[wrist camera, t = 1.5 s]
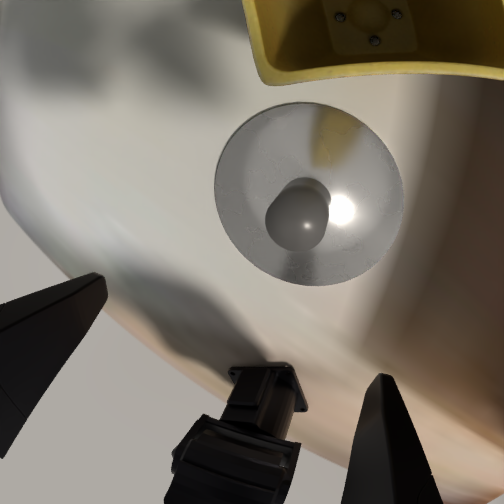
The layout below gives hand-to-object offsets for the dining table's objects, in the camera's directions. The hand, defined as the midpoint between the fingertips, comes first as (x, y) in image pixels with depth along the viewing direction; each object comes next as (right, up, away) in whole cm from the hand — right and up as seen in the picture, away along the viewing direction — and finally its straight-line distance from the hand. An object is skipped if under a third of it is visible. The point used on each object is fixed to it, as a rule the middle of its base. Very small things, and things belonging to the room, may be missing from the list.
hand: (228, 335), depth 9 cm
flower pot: (+7, +15, +4) cm, 17 cm away
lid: (+4, +6, +11) cm, 13 cm away
